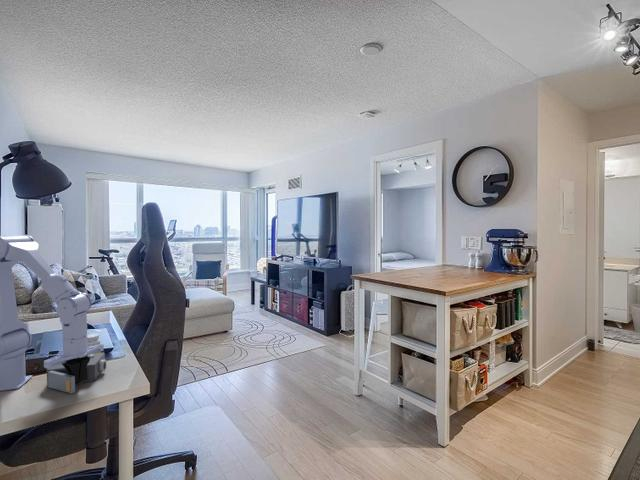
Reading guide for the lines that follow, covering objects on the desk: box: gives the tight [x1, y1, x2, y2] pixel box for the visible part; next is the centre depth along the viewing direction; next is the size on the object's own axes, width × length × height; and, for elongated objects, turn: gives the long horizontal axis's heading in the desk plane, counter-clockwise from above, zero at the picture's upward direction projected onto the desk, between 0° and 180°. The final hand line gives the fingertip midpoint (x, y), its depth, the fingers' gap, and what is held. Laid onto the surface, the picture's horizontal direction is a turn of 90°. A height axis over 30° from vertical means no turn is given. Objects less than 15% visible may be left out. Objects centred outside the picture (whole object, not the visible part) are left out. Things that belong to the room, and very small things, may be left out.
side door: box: [48, 371, 76, 394], centre depth 93 cm, size 10×2×4 cm, turn 69°
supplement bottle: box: [87, 333, 102, 354], centre depth 116 cm, size 5×5×8 cm
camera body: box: [46, 351, 107, 388], centre depth 103 cm, size 13×10×6 cm
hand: (76, 383), depth 95 cm, fingers closed
